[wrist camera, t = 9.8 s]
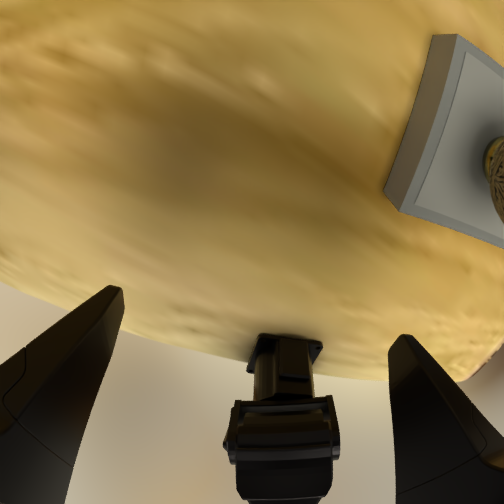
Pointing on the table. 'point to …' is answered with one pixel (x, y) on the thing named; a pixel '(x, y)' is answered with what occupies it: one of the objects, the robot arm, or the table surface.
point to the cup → (495, 172)
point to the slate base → (452, 141)
